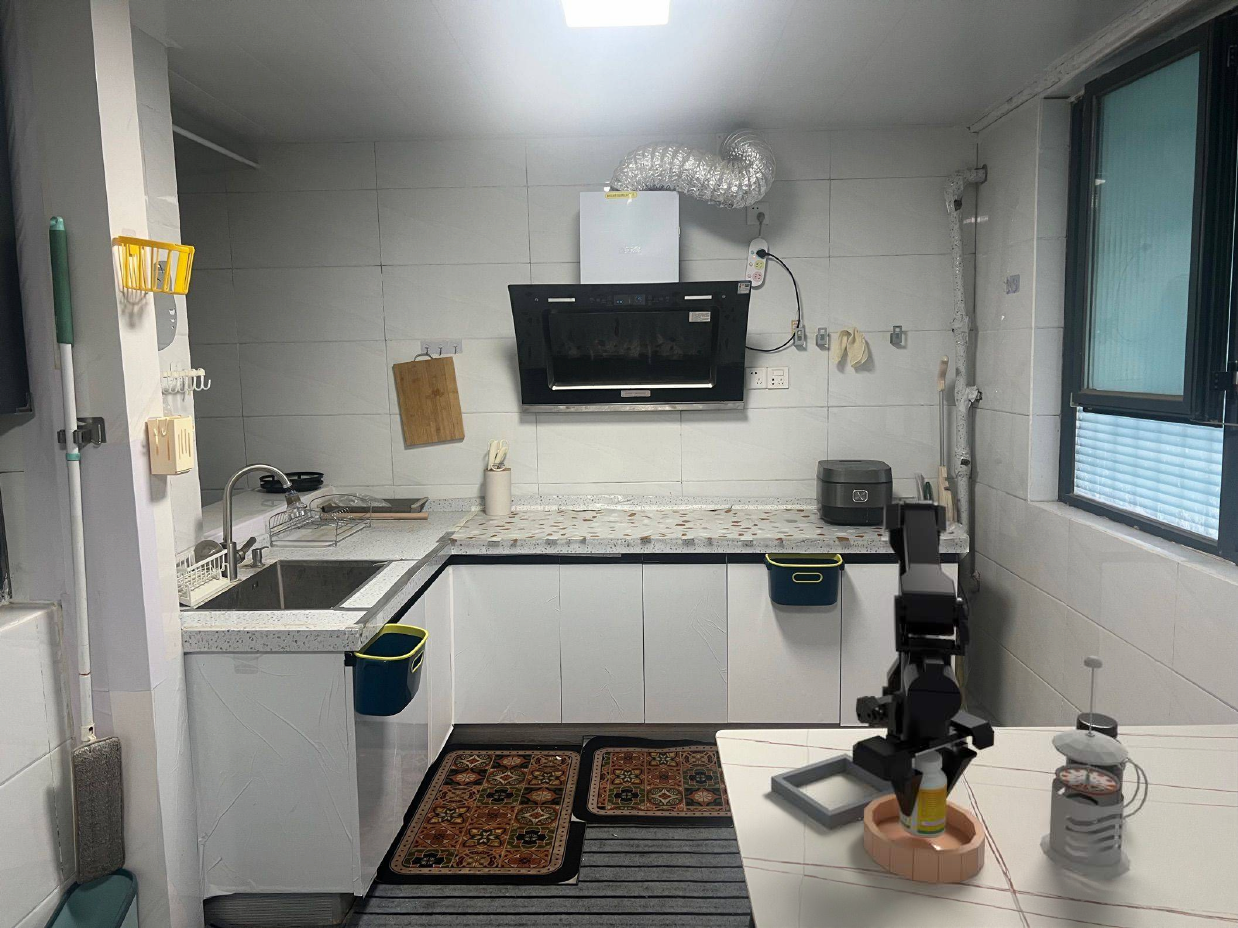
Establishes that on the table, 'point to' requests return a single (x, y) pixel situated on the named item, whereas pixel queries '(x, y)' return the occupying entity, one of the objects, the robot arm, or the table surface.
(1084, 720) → the supplement bottle
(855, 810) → the open rectangular frame
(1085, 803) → the french press
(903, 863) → the bowl
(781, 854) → the table surface
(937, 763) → the supplement bottle
